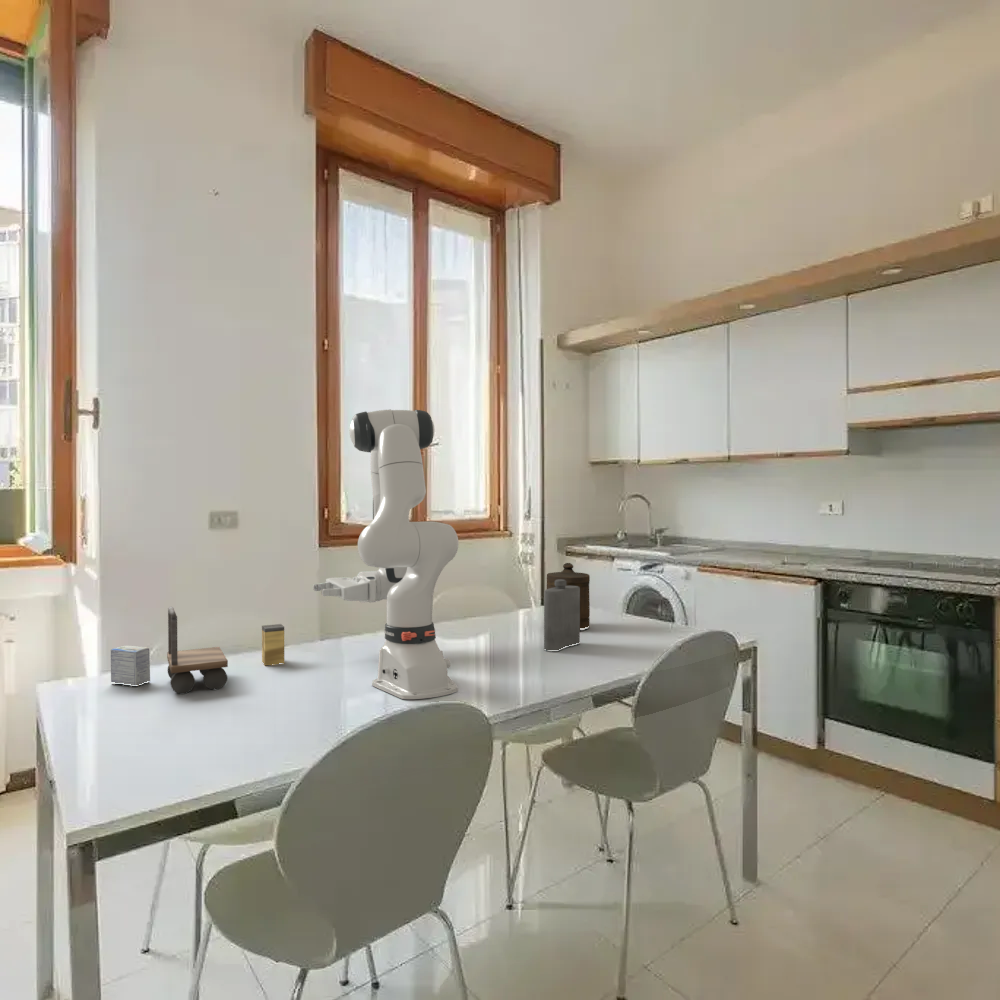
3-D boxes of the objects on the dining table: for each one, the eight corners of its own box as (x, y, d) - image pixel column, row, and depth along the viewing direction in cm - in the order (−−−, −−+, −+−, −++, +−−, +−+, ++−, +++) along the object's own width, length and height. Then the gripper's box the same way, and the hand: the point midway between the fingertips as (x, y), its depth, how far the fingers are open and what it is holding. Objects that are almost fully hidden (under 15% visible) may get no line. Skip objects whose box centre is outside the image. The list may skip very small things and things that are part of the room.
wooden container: (596, 626, 237) (596, 562, 237) (577, 634, 225) (577, 566, 224) (558, 621, 245) (558, 559, 245) (537, 629, 233) (537, 563, 232)
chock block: (284, 663, 186) (284, 626, 186) (265, 666, 183) (264, 628, 183) (281, 660, 190) (280, 623, 190) (262, 662, 187) (261, 625, 187)
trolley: (227, 689, 162) (227, 612, 162) (171, 696, 157) (170, 616, 156) (219, 673, 176) (219, 602, 176) (167, 679, 171) (166, 606, 170)
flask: (566, 641, 214) (566, 576, 213) (582, 644, 210) (582, 578, 210) (538, 650, 202) (538, 581, 202) (554, 653, 198) (554, 583, 198)
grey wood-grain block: (150, 682, 168) (150, 647, 168) (135, 687, 163) (135, 651, 163) (125, 679, 170) (125, 644, 170) (110, 684, 166) (109, 648, 166)
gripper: (355, 571, 208) (308, 574, 201) (377, 580, 190) (327, 583, 183) (355, 592, 208) (308, 595, 201) (377, 603, 190) (327, 607, 184)
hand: (317, 590), depth 192 cm, fingers open, 8 cm apart
